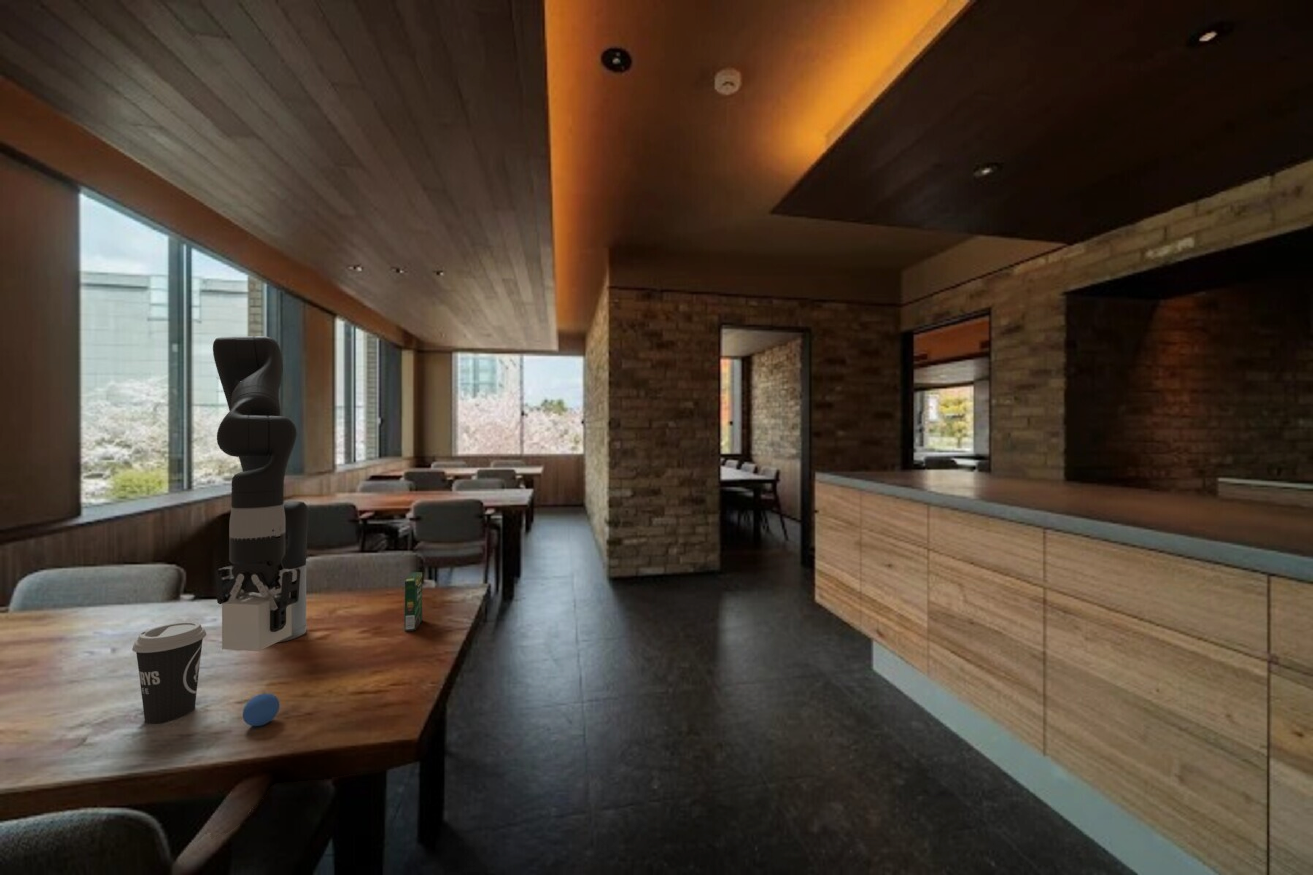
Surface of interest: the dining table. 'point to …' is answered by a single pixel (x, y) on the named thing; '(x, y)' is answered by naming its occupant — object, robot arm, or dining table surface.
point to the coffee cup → (169, 669)
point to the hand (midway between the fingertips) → (257, 629)
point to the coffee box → (413, 601)
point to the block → (251, 624)
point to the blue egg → (261, 709)
